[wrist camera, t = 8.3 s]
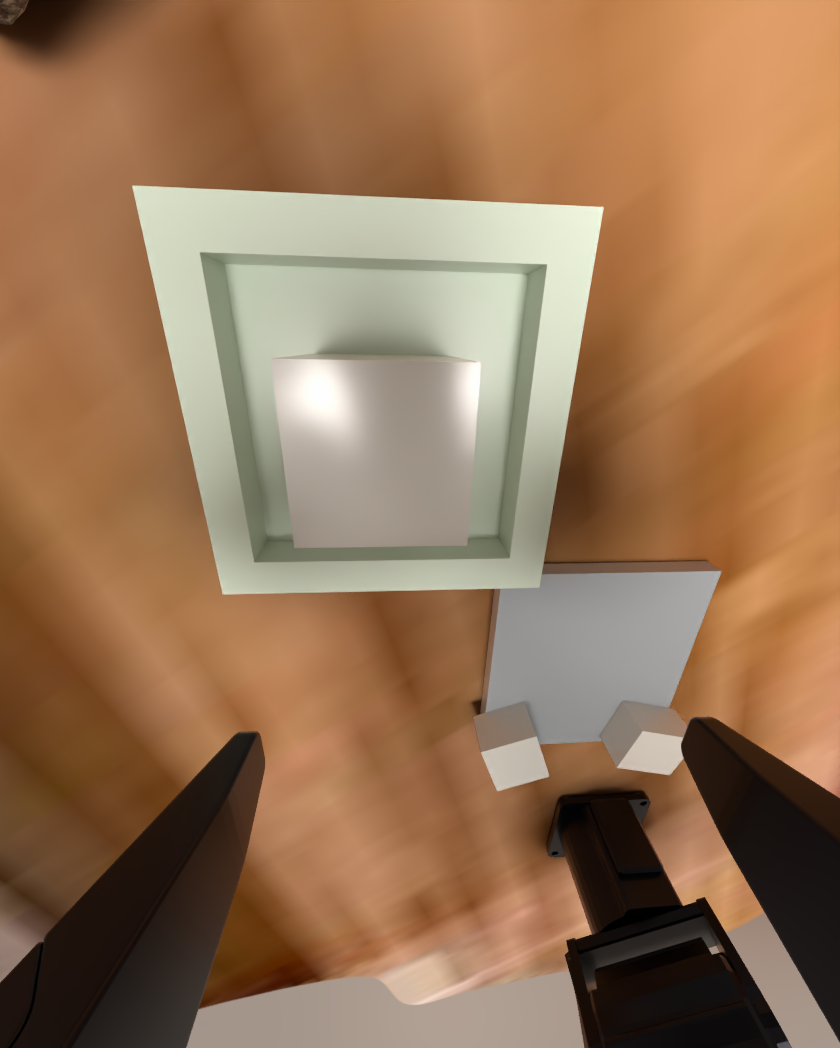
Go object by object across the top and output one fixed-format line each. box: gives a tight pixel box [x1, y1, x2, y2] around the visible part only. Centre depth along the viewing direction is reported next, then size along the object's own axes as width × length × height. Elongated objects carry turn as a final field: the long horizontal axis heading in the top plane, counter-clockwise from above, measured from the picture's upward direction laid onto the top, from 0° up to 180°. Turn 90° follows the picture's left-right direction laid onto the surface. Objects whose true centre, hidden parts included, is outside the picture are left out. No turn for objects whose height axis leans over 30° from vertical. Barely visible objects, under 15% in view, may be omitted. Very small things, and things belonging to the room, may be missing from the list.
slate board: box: [473, 561, 721, 791], centre depth 21 cm, size 13×12×3 cm
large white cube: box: [270, 353, 481, 548], centre depth 13 cm, size 5×5×6 cm
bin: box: [132, 186, 604, 594], centre depth 15 cm, size 14×14×2 cm
